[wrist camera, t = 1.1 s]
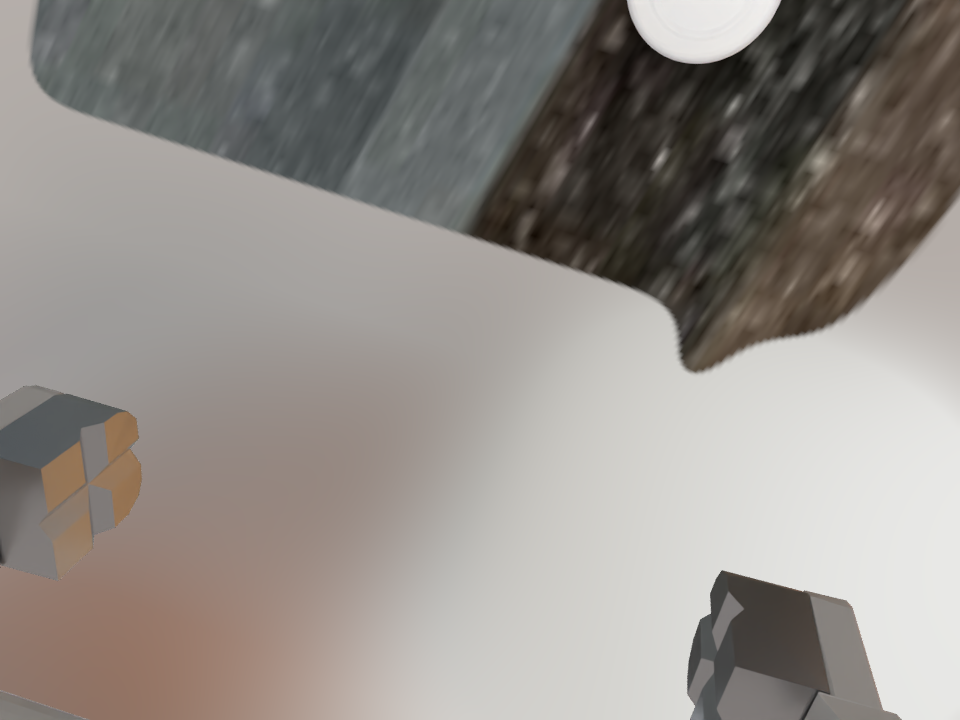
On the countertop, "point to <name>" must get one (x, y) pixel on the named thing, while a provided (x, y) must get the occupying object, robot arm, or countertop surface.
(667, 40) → the sprinkles bottle
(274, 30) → the countertop surface
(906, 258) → the countertop surface
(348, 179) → the countertop surface
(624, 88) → the countertop surface
